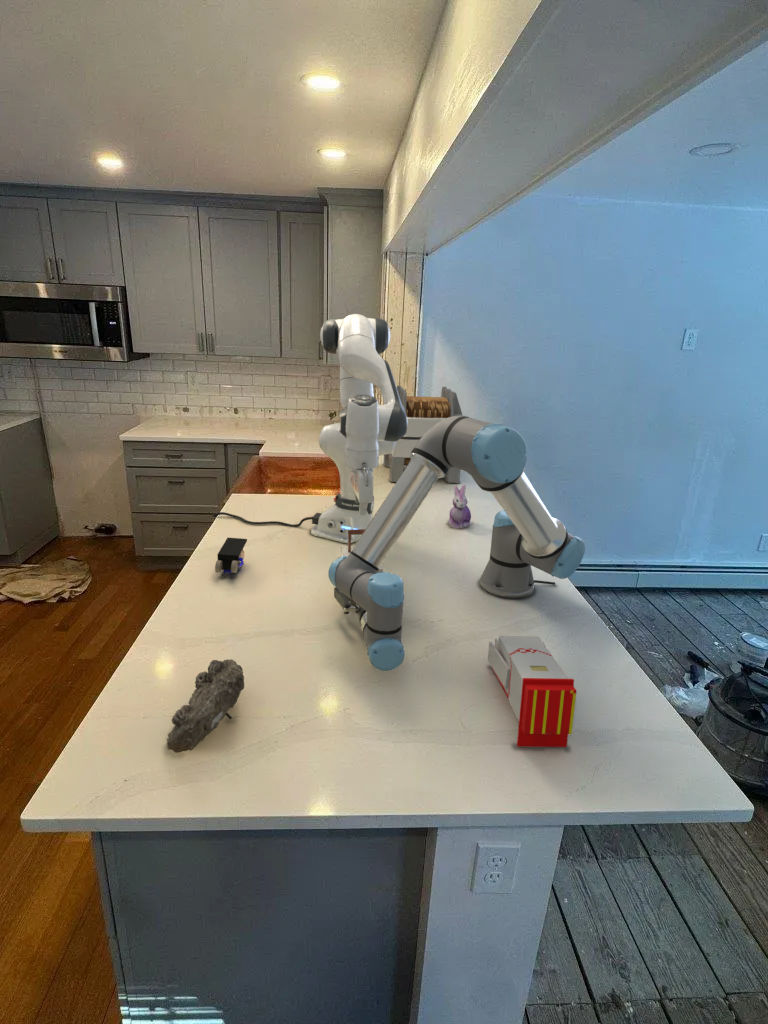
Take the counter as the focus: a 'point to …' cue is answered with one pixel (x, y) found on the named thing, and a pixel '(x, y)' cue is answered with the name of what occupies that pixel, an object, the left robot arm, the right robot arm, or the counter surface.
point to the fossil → (206, 705)
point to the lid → (348, 550)
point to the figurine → (459, 509)
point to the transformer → (421, 428)
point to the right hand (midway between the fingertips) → (362, 577)
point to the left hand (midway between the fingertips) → (360, 508)
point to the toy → (534, 690)
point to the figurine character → (230, 556)
